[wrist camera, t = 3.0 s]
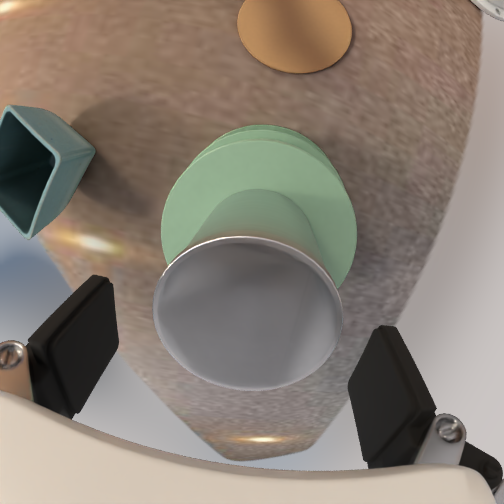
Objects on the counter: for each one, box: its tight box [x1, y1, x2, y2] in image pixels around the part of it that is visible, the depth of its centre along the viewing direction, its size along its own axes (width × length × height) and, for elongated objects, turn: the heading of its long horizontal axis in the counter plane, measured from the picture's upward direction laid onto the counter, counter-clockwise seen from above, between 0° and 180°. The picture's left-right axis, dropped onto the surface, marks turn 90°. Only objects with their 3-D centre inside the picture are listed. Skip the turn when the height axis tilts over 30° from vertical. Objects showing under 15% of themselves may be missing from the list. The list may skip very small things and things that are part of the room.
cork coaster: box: [237, 0, 352, 74], centre depth 20 cm, size 10×10×1 cm
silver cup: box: [152, 189, 343, 391], centre depth 14 cm, size 7×7×8 cm
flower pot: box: [0, 105, 95, 240], centre depth 21 cm, size 9×9×9 cm
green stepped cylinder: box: [161, 125, 357, 289], centre depth 22 cm, size 14×14×10 cm
